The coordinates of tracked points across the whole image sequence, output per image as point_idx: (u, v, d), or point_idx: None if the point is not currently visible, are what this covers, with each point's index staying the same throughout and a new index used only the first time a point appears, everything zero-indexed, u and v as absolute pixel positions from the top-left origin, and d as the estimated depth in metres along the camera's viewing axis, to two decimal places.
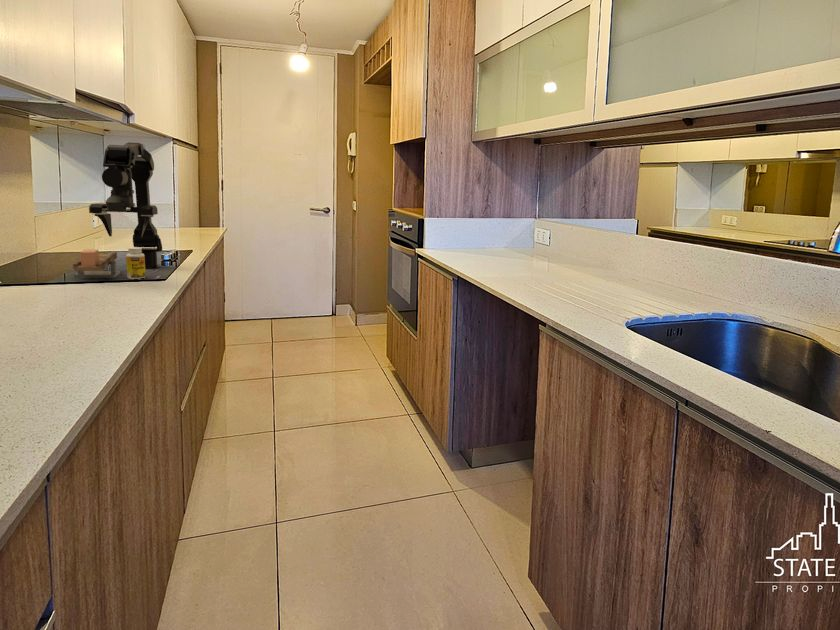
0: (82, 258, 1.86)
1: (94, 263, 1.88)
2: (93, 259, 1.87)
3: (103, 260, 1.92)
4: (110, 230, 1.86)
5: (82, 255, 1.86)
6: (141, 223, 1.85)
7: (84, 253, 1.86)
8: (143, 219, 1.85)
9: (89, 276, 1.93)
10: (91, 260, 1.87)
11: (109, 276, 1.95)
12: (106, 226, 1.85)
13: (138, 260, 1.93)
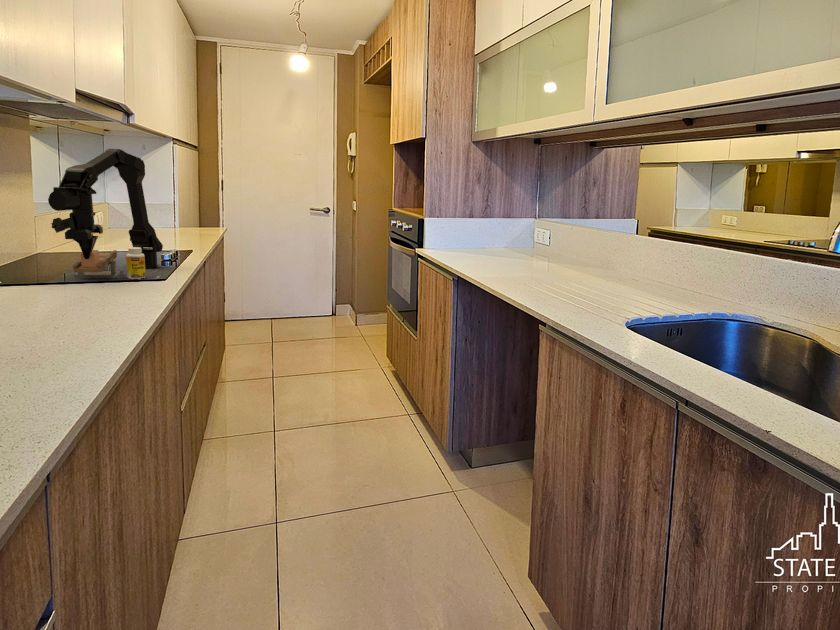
0: (82, 259, 1.87)
1: (94, 264, 1.88)
2: (93, 260, 1.88)
3: (103, 261, 1.92)
4: None
5: (82, 256, 1.86)
6: None
7: None
8: None
9: (89, 276, 1.93)
10: (91, 261, 1.88)
11: (109, 276, 1.95)
12: None
13: (138, 260, 1.93)
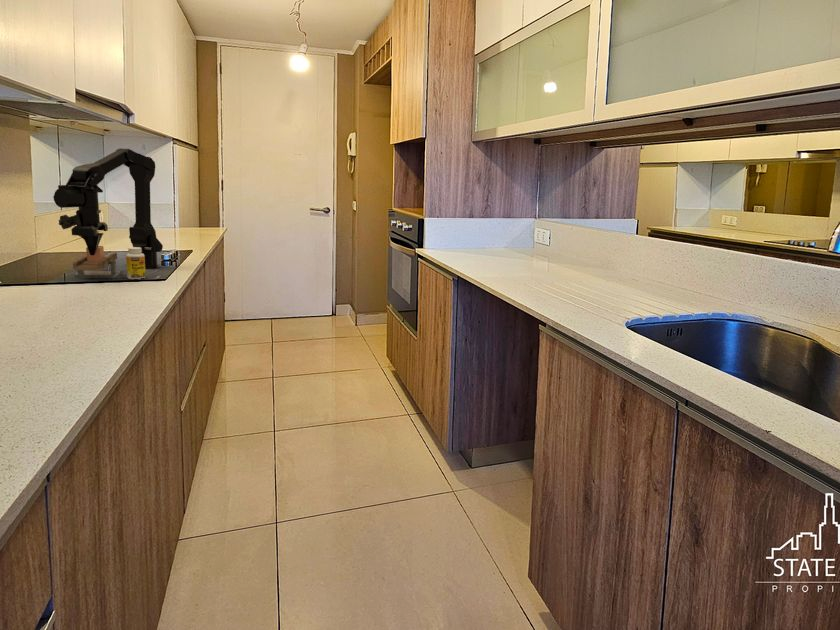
0: (88, 254, 1.93)
1: (99, 258, 1.94)
2: (98, 255, 1.94)
3: (103, 260, 1.92)
4: None
5: (88, 251, 1.93)
6: None
7: None
8: None
9: (89, 276, 1.93)
10: (96, 255, 1.94)
11: (109, 276, 1.95)
12: None
13: (138, 260, 1.93)
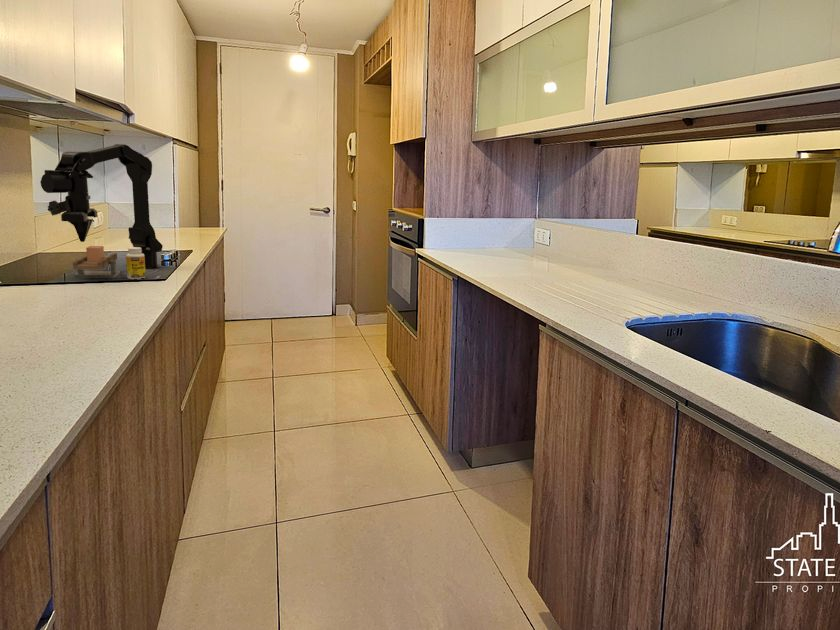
0: (88, 253, 1.93)
1: (99, 258, 1.94)
2: (98, 254, 1.94)
3: (103, 259, 1.92)
4: None
5: (88, 250, 1.93)
6: None
7: (90, 248, 1.93)
8: None
9: (89, 276, 1.93)
10: (96, 255, 1.94)
11: (109, 276, 1.95)
12: None
13: (138, 260, 1.93)
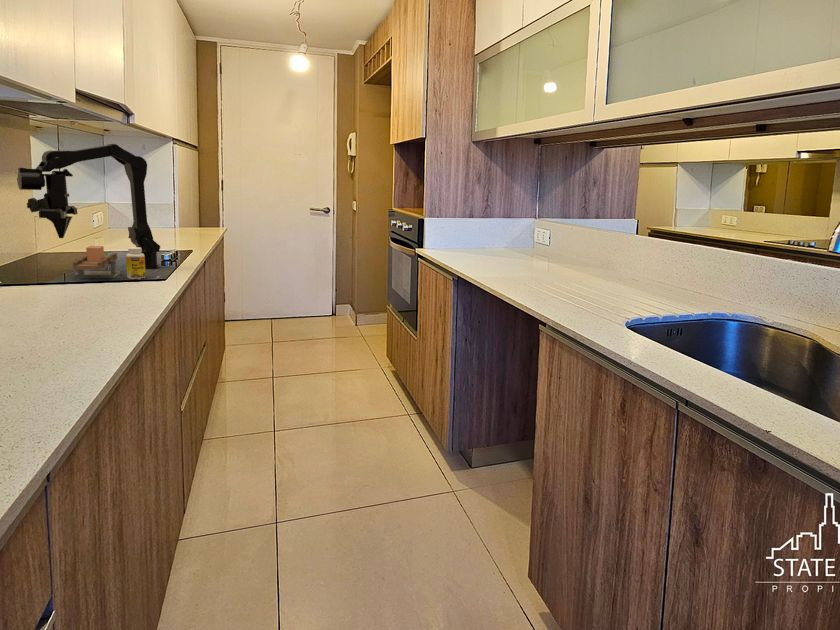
0: (88, 253, 1.93)
1: (99, 258, 1.94)
2: (98, 254, 1.94)
3: (103, 259, 1.92)
4: None
5: (88, 250, 1.93)
6: None
7: (90, 248, 1.93)
8: None
9: (89, 276, 1.93)
10: (96, 255, 1.94)
11: (109, 276, 1.95)
12: None
13: (138, 260, 1.93)
